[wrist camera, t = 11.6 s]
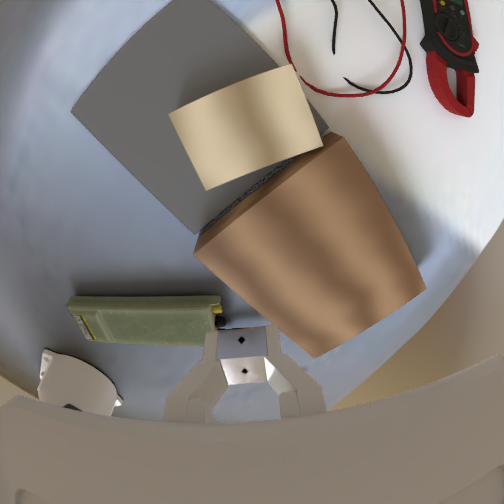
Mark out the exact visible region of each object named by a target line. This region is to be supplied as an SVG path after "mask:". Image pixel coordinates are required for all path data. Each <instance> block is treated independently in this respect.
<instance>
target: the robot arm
mask: <svg viewBox="0 0 504 504" xmlns="http://www.w3.org/2000/svg"><path fill="white" fill-rule="evenodd" d="M265 329H266V330H265ZM40 378H41V382H40V384H39V386H38V389H37V390H38V395H39V401H37V400H34V399H31V398H28V397H24V396H21V395H17V396H14V397H13V398H11V399H10V400H8V401H7V402H6V403H5V404H3V405H2V406H1V407H0V504H504V356H501V355H493V356H491V357H489V358H487V359H485V360H483V361H481V362H479V363H477V364H475V365H473V366H471V367H468V368H466V369H464V370H462V371H459V372H457V373H455V374H452V375H450V376H448V377H445V378H443V379H440V380H437V381H435V382H433V383H430V384H427V385H424V386H421V387H418V388H416V389H413V390H410V391H407V392H404V393H400V394H397V395H394V396H390V397H387V398H384V399H380V400H376V401H373V402H369V403H365V404H361V405H357V406H352V407H348V408H343V409H338V410H333V411H329V412H327V410H326V405H325V401H324V396H323V392H322V387H321V385H319V384H318V383H317V382H316V381H315V380H314V379H313V378H312V377H310V376H309V375H308V374H307V373H306V372H305V371H304V370H303V369H302V368H300V367H299V366H298V365H297V364H296V363H295V362H294V361H293V360H292V359H291V358H289V357H288V356H287V355H286V354H282V351H281V344H280V337H279V330H278V325H269V326H261V327H252V328H243V329H233V330H219V331H207V332H206V336H205V344H204V353H203V361H199V362H198V363H197V364H196V365H195V367H194V368H193V369H192V370H191V371H190V372H189V373H188V374H187V375H186V376H185V378H184V379H183V380H182V381H181V382H180V383H179V384H178V385H177V386H176V387H175V388H174V389H173V391H172V392H171V393H170V394H169V395H168V396H167V398H166V404H165V410H164V416H163V422H156V421H144V420H134V419H126V418H118V417H111V414H112V411H113V409H114V406H120V405H121V404H122V402H123V401H122V399H121V398H120V397H119V396H118V394H117V392H116V388H115V386H114V385H113V383H112V382H111V381H110V380H109V379H108V378H107V377H106V376H105V375H104V374H102V373H101V372H100V371H98V370H97V369H95V368H94V367H92V366H91V365H89V364H87V363H85V362H83V361H81V360H79V359H77V358H74V357H71V356H67V355H61V354H56V353H54V352H52V351H49V350H47V349H44V351H43V354H42V361H41V371H40ZM255 382H268V383H269V384H270V386H271V387H272V388H273V389H274V390H275V392H276V393H277V394H278V395H279V403H280V416H281V419H274V420H264V421H251V422H235V423H217V421H216V419H215V417H214V415H213V413H212V410H213V408H214V407H215V405H216V404H217V402H218V401H219V399H220V398H221V396H222V395H223V393H224V392H225V390H226V389H227V387H228V385H232V384H242V383H255Z"/></svg>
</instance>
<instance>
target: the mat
mask: <svg viewBox="0 0 504 504" xmlns="http://www.w3.org/2000/svg"><path fill="white" fill-rule="evenodd" d="M276 68H279V66H278V65H277V64H276V63H275V62H274V61H273V60H272V59H271V57H270V56H269V55H268V54H267V53H266V52H265V51H264V50H263V49H262V48H261V47H260V46H259V45H258V44H257V43H256V42H255V41H254V40H253V39H252V38H251V37H250V36H249V35H248V34H247V33H246V32H245V31H244V30H243V29H242V28H240V27H239V26H238V25H237V24H236V23H235V22H234V21H233V20H232V19H231V18H230V17H228V16H227V15H226V14H225V13H224V12H223V11H222V10H220V9H219V8H218V7H217V6H216V5H215V4H213V3H212V2H211V1H210V0H173V1H172V2H170V3H169V4H168V5H167V6H166V7H164V8H163V9H162V10H161V11H160V12H159V13H157V14H156V15H155V16H154V17H153V18H152V19H151V20H150V21H148V22H147V23H146V24H145V25H144V26H143V27H142V28H141V29H140V30H139V31H138V32H137V33H136V34H135V35H134V36H133V37H132V38H131V39H130V40H129V41H128V42H127V43H126V44H125V45H124V46H123V47H122V48H121V49H120V50H119V51H118V52H117V53H116V55H115V56H114V57H113V58H112V59H111V60H110V61H109V62H108V64H107V65H106V66H105V67H104V68H103V69H102V71H101V72H100V73H99V74H98V75H97V77H96V78H95V79H94V80H93V82H92V83H91V84H90V86H89V87H88V88H87V89H86V91H85V92H84V93H83V95H82V96H81V97H80V99H79V100H78V102H77V103H76V104H75V106H74V107H73V109H72V110H71V113H72V114H73V115H74V116H75V117H76V118H77V119H78V120H79V121H80V122H81V123H82V124H83V125H84V126H85V127H86V128H87V129H88V130H89V131H90V133H91V134H92V135H93V136H94V137H95V138H96V139H97V140H98V141H99V142H100V143H101V144H102V145H103V146H104V147H105V148H106V149H107V150H108V151H109V152H110V153H111V154H112V155H113V156H114V157H115V158H116V159H117V160H118V161H119V162H120V163H121V164H122V165H123V166H124V167H125V168H126V169H127V170H128V171H129V172H130V173H131V174H132V175H133V176H134V177H135V178H136V179H137V180H138V181H139V182H140V183H141V184H142V185H143V186H144V187H145V188H146V189H147V190H148V191H150V192H151V193H152V194H153V195H154V196H155V197H156V198H157V199H158V200H159V201H160V202H161V203H162V204H163V205H164V206H165V207H166V208H167V209H168V210H169V211H170V212H171V213H172V214H173V215H174V216H175V217H176V218H177V219H179V220H180V221H181V222H182V223H183V224H184V225H185V226H186V227H187V228H188V229H189V230H190V231H191V232H192V233H193V234H194V235H195V234H196V233H197V232H198V231H199V230H201V229H202V228H203V227H204V226H205V225H206V224H208V223H209V222H210V221H211V220H212V219H214V218H215V217H216V216H217V215H218V214H219V213H221V212H222V211H223V210H224V209H225V208H227V207H228V206H229V205H230V204H231V203H233V202H234V201H235V200H236V199H238V198H239V197H240V196H241V195H242V194H244V193H245V192H246V191H247V190H249V189H250V188H251V187H252V186H254V185H255V184H256V183H257V182H259V181H260V180H261V179H262V178H264V177H265V176H266V175H267V174H269V173H270V172H271V171H272V170H274V169H275V168H276V167H278V166H279V165H280V164H281V163H283V162H284V161H285V160H287V159H288V158H287V159H285V160H282V161H279V162H277V163H274V164H271V165H269V166H266V167H263V168H261V169H258V170H256V171H253V172H250V173H248V174H245V175H243V176H240V177H238V178H235V179H233V180H231V181H228V182H226V183H223V184H221V185H219V186H216V187H214V188H211V189H209V190H207V191H206V190H205V188H204V186H203V184H202V182H201V180H200V178H199V176H198V174H197V172H196V170H195V168H194V166H193V164H192V162H191V160H190V158H189V156H188V154H187V152H186V150H185V148H184V146H183V144H182V142H181V140H180V138H179V135H178V133H177V131H176V129H175V127H174V125H173V123H172V121H171V119H170V117H169V115H168V114H170V113H172V112H173V111H175V110H177V109H179V108H181V107H183V106H185V105H187V104H189V103H192V102H194V101H196V100H198V99H200V98H202V97H204V96H207V95H209V94H211V93H213V92H216V91H218V90H220V89H223V88H225V87H227V86H230V85H232V84H235V83H237V82H240V81H242V80H245V79H248V78H250V77H253V76H256V75H259V74H261V73H264V72H267V71H270V70H273V69H276ZM306 100H307V99H306ZM307 102H308V105H309V107H310V110H311V113H312V115H313V118H314V121H315V124H316V126H317V129H318V132H319V135H320V134H321V133H322V132H324V131H325V130H327V129H328V128H329V127H328V126H327V124H326V123H325V122H324V120H323V119H322V118H321V116H320V115H319V114H318V112H317V111H316V110H315V109H314V107H313V106H312V105H311V104H310V102H309V101H308V100H307Z"/></svg>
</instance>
